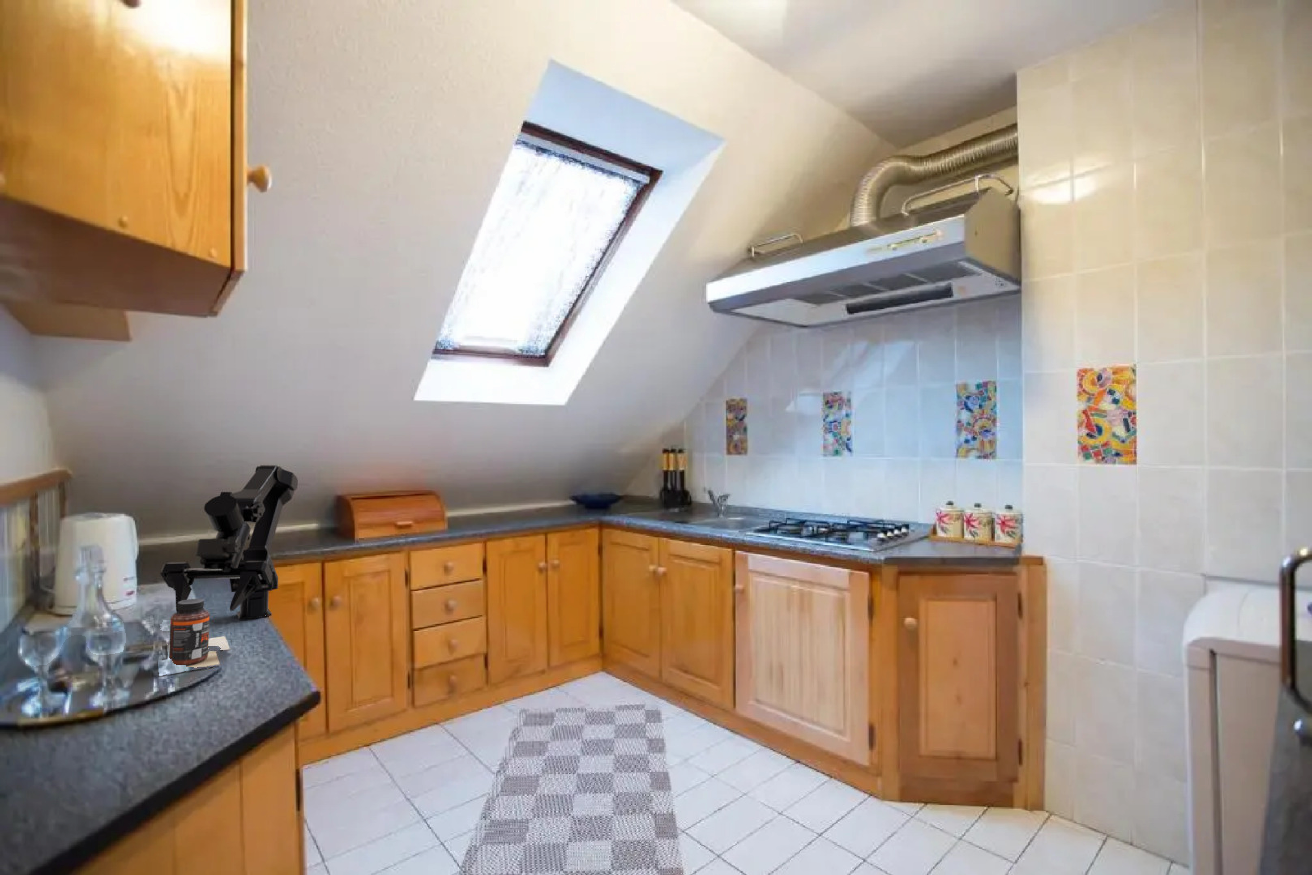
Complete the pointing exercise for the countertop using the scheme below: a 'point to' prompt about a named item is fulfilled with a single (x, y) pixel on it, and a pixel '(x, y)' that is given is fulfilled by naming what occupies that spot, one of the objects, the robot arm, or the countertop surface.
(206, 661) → the beech pad
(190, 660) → the supplement bottle
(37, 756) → the countertop surface
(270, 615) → the robot arm
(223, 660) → the countertop surface
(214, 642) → the cream flat square slab
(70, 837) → the countertop surface
